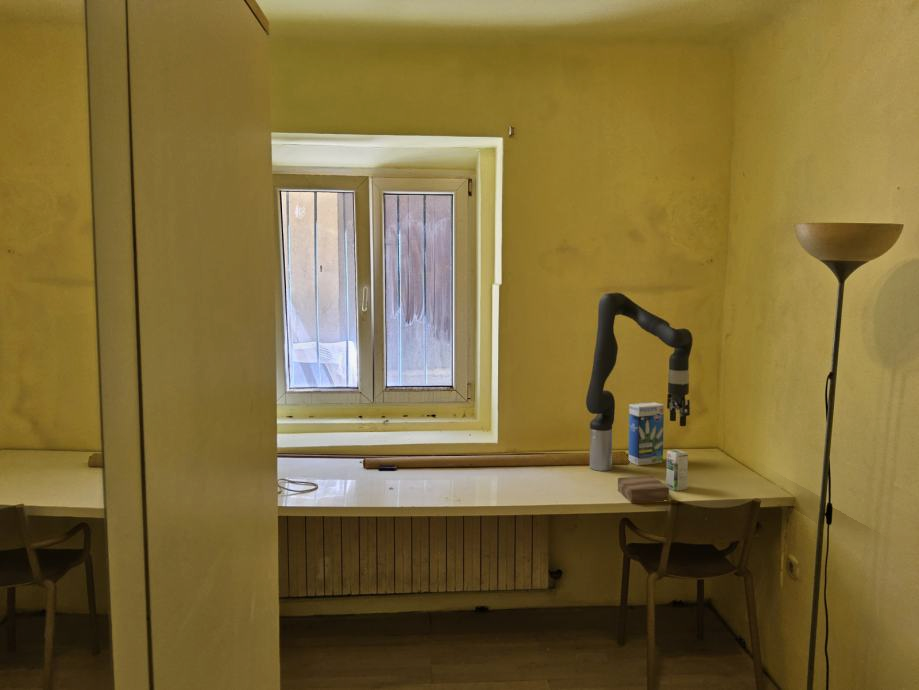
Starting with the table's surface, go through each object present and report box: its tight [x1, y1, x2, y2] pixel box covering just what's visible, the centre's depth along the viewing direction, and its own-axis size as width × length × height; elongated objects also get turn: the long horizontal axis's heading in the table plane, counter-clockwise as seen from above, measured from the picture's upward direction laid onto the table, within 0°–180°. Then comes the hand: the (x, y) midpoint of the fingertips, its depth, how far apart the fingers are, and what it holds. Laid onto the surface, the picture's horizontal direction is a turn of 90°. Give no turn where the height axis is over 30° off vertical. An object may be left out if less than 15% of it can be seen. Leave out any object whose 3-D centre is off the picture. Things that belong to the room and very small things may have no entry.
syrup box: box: [665, 449, 689, 492], centre depth 248 cm, size 6×6×14 cm
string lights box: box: [628, 401, 665, 466], centre depth 283 cm, size 13×8×26 cm, turn 109°
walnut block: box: [617, 475, 670, 504], centre depth 241 cm, size 14×14×5 cm
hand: (677, 423), depth 247 cm, fingers open, 8 cm apart
